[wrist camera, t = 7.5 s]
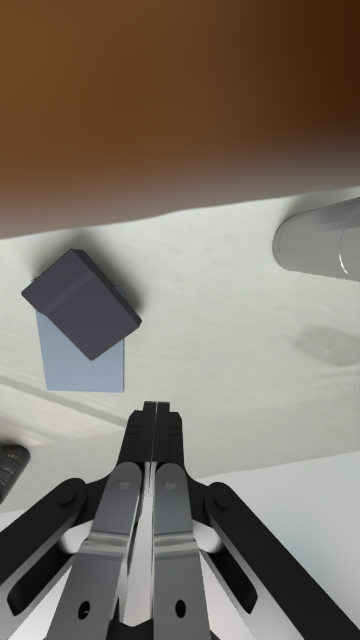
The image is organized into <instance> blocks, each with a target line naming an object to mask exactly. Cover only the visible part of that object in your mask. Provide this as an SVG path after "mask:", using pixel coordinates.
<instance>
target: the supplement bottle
mask: <svg viewBox="0 0 360 640" xmlns="http://www.w3.org/2000/svg"><path fill="white" fill-rule="evenodd" d="M29 461H30V455H29V453H28V451H27V450H26V449H24V448H22V447H20V446H15V445H10V446H6V447H4V448H2V449H1V450H0V505H1V504H2V503H3V501H4V500H5V498H6V497H7V495H8V494H9V492H10V491H11V489H12V488H13V486H14V485H15V483H16V481H17V480H18V478H19V477H20V475H21V474H22V472H23V471H24V469H25V468H26V466H27V464H28V463H29Z"/></svg>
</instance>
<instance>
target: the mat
mask: <svg viewBox="0 0 360 640" xmlns="http://www.w3.org/2000/svg"><path fill="white" fill-rule="evenodd" d="M33 281H35V280H31V282H33ZM114 287H115V288H116V290H117V291H118V292H119V293H120V294H121V295H122V297H123V298H124V287H117V286H114ZM35 310H36V309H35ZM36 317H37V323H38V330H39V337H40V344H41V351H42V358H43V365H44V371H45V378H46V385H47V390H57V391H86V392H115V393H123V391H124V339H122V340H121V341H120V342H118V343H117V344H115V345H114V346H113V347H111V348H110V349H109V350H107V351H106V352H104V353H103V354H102V355H100V356H99V357H98V358H96V359H95V360H93V361H90V360H89V359H88V358H87V357H86V356H85V355H84V354H83V353H82V352H81V351H80V350H79V349H78V348H77V347H76V346H75V345H74V344H73V343H72V342H71V341H70V340H69V339H68V338H67V337H66V336H65V335H64V334H63V333H62V332H61V331H60V330H59V329H58V328H57V327H56V326H55V325H54V324H53V323H52V322H51V321H50V320H49V319H48V318H47V317H46V316H45V315H43V314H41V313H39V312H38V311H37V310H36Z"/></svg>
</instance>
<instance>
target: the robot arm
mask: <svg viewBox="0 0 360 640" xmlns="http://www.w3.org/2000/svg"><path fill="white" fill-rule="evenodd" d="M273 254H274V258H275V260H276V262H277V263H278V264H279V265H280V266H281V267H283V268H284V269H287V270H290V271H296V272H302V273H308V274H315V275H321V276H327V277H333V278H339V279H346V280H352V281H358V282H360V197H358V198H354V199H351V200H347V201H343V202H340V203H336V204H333V205H329V206H326V207H322V208H318V209H314V210H311V211H307V212H304V213H300V214H297V215H294V216H292V217H290V218H289V219H287V220H286V221H285V222H284V223H283V224H282V225H281V226H280V227H279V229H278V230H277V232H276V234H275V237H274V240H273ZM156 406H157V414H156ZM169 410H170V402H158V404H157V402H152V401H145V402H144V407H143V411H139V410H134V412H133V413H132V414H131V415H130V417H129V419H128V423H127V427H126V431H125V435H124V438H123V442H122V446H121V450H120V454H119V458H118V461H117V464H116V466H115V468H114V469H113V470H112V472H111V473H110V474H109V475H107V476H106V477H104V478H102V479H100V480H97V481H94V482H91V483H88V484H86V483H85V482H84V481H83V480H82V479H80V478H71V479H68V480H65V481H64V482H62V483H61V484H59V485H58V486H57V487H55V488H54V489H53V490H52V491H51V492H49V493H48V494H47V495H46V496H44V497H43V498H42V499H41V500H39V501H38V502H37V503H36V504H35V505H33V506H32V507H31V508H30V509H28V510H27V511H26V512H25V513H24V514H22V515H21V516H20V517H19V518H17V519H16V520H15V521H14V522H13V523H11V524H10V525H9V526H8V527H6V528H5V529H4V530H3V531H1V532H0V640H8V639H9V638H10V637H11V636H12V634H13V633H14V632H15V631H16V630H17V628H18V627H19V626H20V625H21V624H22V623H23V621H24V620H25V619H26V618H27V617H28V616H29V615H30V613H31V612H32V611H33V610H34V609H35V607H36V606H37V605H38V604H39V603H40V602H41V600H42V599H43V598H44V597H45V596H46V595H47V593H48V592H49V591H50V590H51V589H52V588H53V587H54V585H55V584H56V583H57V582H58V581H59V580H60V578H61V577H62V576H63V575H64V574H65V573H66V571H67V570H68V569H69V568H70V567H71V566H72V568H71V571H70V573H69V577H68V579H67V581H66V584H65V587H64V590H63V593H62V595H61V598H60V600H59V603H58V606H57V609H56V611H55V614H54V617H53V619H52V622H51V625H50V627H49V630H48V633H47V636H46V637H45V638H44V639H43V640H220V639H219V638H218V637H217V636H216V635H215V634H214V633H213V632H212V631H211V630H210V627H209V620H208V613H207V605H206V598H205V591H204V584H203V576H202V569H201V562H200V554H199V551H200V552H201V554H202V556H203V557H204V559H205V561H206V562H207V564H208V565H209V567H210V568H211V570H212V572H213V573H214V575H215V576H216V578H217V580H218V581H219V583H220V584H221V586H222V587H223V589H224V591H225V592H226V594H227V595H228V597H229V599H230V600H231V602H232V603H233V605H234V607H235V608H236V609H237V611H238V613H239V614H240V616H241V618H242V619H243V621H244V623H245V624H246V626H247V627H248V629H249V630H250V632H251V634H252V635H253V637H254V638H255V640H360V630H359V629H358V628H357V626H356V625H355V624H354V623H353V622H352V621H351V620H350V619H349V618H348V616H347V615H345V613H344V612H343V611H342V610H341V609H340V608H339V607H338V606H337V604H335V602H334V601H333V600H332V599H331V598H330V597H329V596H328V594H327V593H326V592H325V591H324V590H323V589H322V588H321V587H320V586H319V585H318V583H316V581H315V580H314V579H313V578H312V577H311V576H310V575H309V574H308V572H307V571H306V570H305V569H304V568H303V567H302V566H301V565H300V564H299V562H298V561H297V560H296V559H295V558H294V557H293V556H292V555H291V554H290V553H289V551H288V550H287V549H286V548H285V547H284V546H283V545H282V544H281V543H280V542H279V540H278V539H277V538H276V537H275V536H274V535H273V534H272V533H271V532H270V531H269V529H268V528H267V527H266V526H265V525H264V524H263V523H262V522H261V521H260V520H259V518H258V517H257V516H256V515H255V514H254V513H253V512H252V511H251V510H250V509H249V507H248V506H247V505H246V504H245V503H244V502H243V501H242V500H241V499H240V497H238V495H237V494H236V493H235V492H234V491H233V490H232V489H231V488H230V487H229V486H228V485H226V484H224V483H221V482H214V483H212V484H210V485H209V486H206V485H204V484H201V483H199V482H197V481H195V480H193V479H192V478H191V477H190V476H189V475H188V473H187V472H186V469H185V466H184V452H183V432H182V419H181V417H180V415H179V413H178V412H169ZM150 474H151V482H150ZM149 484H150V497H153V512H152V546H151V590H150V620H147V621H145V622H143V623H141V624H139V625H137V626H134V627H130V626H128V625H125V624H124V623H123V618H124V612H125V606H126V599H127V591H128V584H129V577H130V572H131V566H132V561H133V555H134V550H135V544H136V539H137V533H138V528H139V522H140V516H141V513H142V506H143V498H144V497H148V493H149ZM198 548H199V549H198ZM72 564H73V565H72Z"/></svg>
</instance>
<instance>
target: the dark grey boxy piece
mask: <svg viewBox="0 0 360 640" xmlns="http://www.w3.org/2000/svg"><path fill="white" fill-rule="evenodd" d="M21 294H22V296H23V297H24V298H25V299H26V300H27V301H28V302H29V303H30V304H31V305H32V306H33V307H34V308H35V309H36V310H37V311H38V312H39V313H41V314H43V315H45V316H46V317H47V318H48V319H49V320H50V321H51V322H52V323H53V324H54V325H55V326H56V327H57V328H58V329H59V330H60V331H61V332H62V333H63V334H64V335H65V336H66V337H67V338H68V339H69V340H70V341H71V342H72V343H73V344H74V345H75V346H76V347H77V348H78V349H79V350H80V351H81V352H82V353H83V354H84V355H85V356H86V357H87V358H88V359H89V360H90V361H93V360H95V359H96V358H98V357H99V356H100V355H102V354H103V353H104V352H106V351H107V350H109V349H110V348H111V347H113V346H114V345H115V344H117V343H118V342H120V341H121V340H122V339H124V338H125V337H126V336H128V335H129V334H131V333H132V332H133V331H135V330H136V329H137V328H139V326H140V324H141V322H142V320H141V318H140V317H139V316H138V315H137V313H136V312H135V311H134V310H133V309H132V307H131V306H130V305H129V304H128V303H127V301H126V300H125V299H124V298H123V297H122V295H121V294H120V293H119V292H118V291H117V290H116V288H115V287H114V286H113V285H112V284H111V282H110V281H109V280H108V279H107V278H106V276H105V275H104V274H103V273H102V272H101V270H100V269H99V268H98V267H97V266H96V264H95V263H94V262H93V261H92V260H91V258H90V257H89V256H88V255H87V254H86V252H85V251H84V250H77V249H70V250H69V251H68V252H67V253H65V254H64V255H63V256H62V257H61V258H60V259H59V260H57V261H56V262H55V263H54V264H53V265H52V266H51V267H49V268H48V269H47V270H46V271H45V272H44V273H43V274H41V275H40V276H39V277H38V278H37V279H36V280H35V281H33V282H32V283H31V284H30V285H29V286H28V287H27V288H25V289H24V290H23V291H22V292H21Z"/></svg>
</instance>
